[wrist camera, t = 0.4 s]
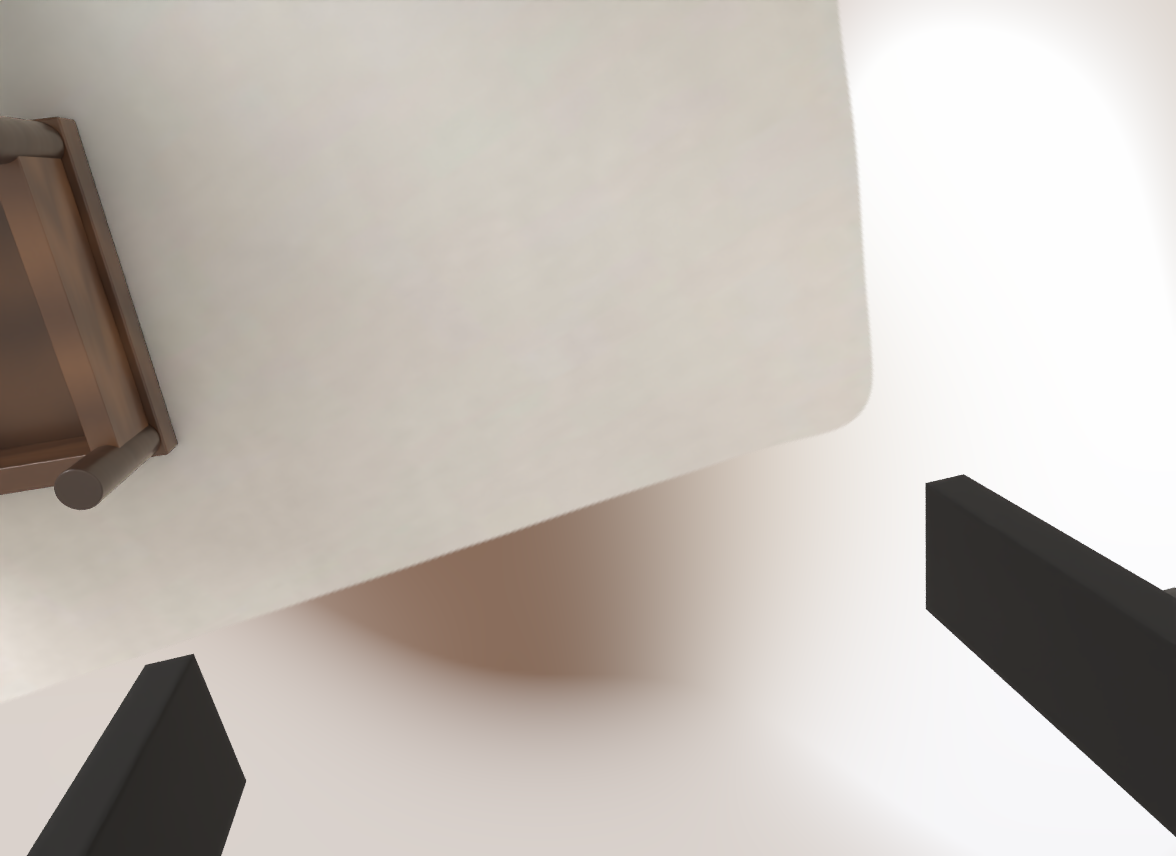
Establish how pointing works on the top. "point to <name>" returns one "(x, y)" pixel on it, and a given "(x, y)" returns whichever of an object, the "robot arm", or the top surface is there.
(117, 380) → the wooden tray
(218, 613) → the top surface
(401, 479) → the top surface
